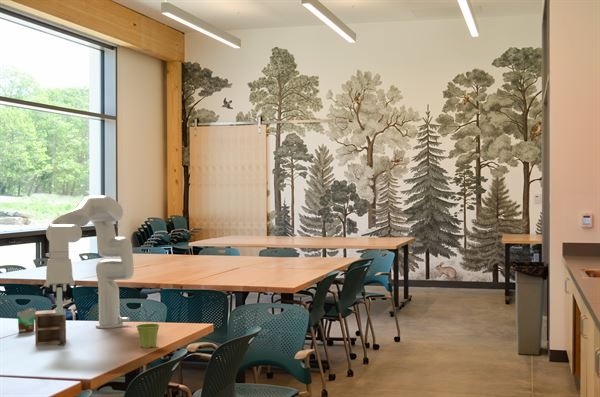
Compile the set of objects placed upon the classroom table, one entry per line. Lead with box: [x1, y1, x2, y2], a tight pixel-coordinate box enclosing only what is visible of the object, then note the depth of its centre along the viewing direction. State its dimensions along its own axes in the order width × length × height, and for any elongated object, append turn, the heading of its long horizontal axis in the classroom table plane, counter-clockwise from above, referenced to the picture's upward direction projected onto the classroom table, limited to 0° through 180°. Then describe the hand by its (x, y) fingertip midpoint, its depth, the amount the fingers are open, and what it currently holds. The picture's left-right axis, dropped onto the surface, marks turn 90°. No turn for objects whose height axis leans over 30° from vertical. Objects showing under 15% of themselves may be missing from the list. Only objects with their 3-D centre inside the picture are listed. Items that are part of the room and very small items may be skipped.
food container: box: [16, 307, 37, 334], centre depth 357 cm, size 12×6×10 cm, turn 179°
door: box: [53, 286, 67, 315], centre depth 318 cm, size 15×4×10 cm, turn 15°
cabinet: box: [34, 309, 67, 347], centre depth 327 cm, size 12×14×13 cm
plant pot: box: [135, 323, 160, 349], centre depth 317 cm, size 9×9×9 cm
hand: (59, 300), depth 316 cm, fingers closed on door, 2 cm apart
